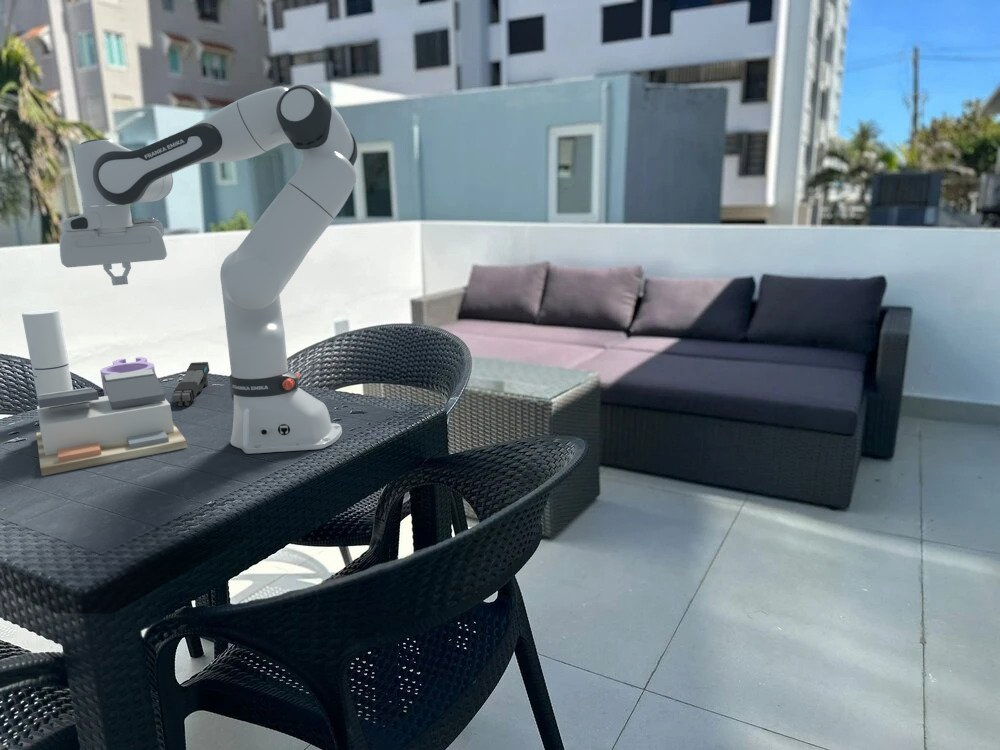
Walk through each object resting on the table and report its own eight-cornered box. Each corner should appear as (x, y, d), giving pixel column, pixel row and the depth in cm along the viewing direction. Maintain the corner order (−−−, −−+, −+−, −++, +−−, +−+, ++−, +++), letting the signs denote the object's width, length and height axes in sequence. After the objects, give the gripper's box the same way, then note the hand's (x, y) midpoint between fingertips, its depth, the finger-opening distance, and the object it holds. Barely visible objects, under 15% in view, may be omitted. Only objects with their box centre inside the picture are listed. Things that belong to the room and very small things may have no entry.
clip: (109, 384, 193) (105, 360, 192) (159, 379, 198) (155, 355, 196) (101, 403, 176) (97, 376, 174) (156, 397, 180) (152, 371, 179)
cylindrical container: (60, 424, 159) (41, 314, 153) (34, 422, 161) (13, 314, 155) (84, 414, 166) (67, 309, 160) (58, 413, 167) (40, 309, 161)
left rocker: (39, 403, 145) (37, 394, 145) (94, 395, 150) (93, 386, 150) (39, 408, 135) (37, 398, 135) (98, 399, 140) (97, 390, 140)
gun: (213, 383, 192) (206, 351, 186) (198, 428, 175) (190, 395, 170) (196, 383, 191) (188, 352, 185) (179, 429, 175) (170, 396, 169)
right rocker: (103, 382, 151) (102, 374, 150) (154, 375, 156) (153, 367, 156) (111, 409, 142) (110, 400, 142) (165, 400, 148) (164, 392, 147)
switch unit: (37, 439, 149) (30, 399, 147) (165, 417, 163) (160, 381, 161) (41, 475, 129) (33, 430, 127) (187, 447, 143) (181, 406, 140)
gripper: (158, 216, 158) (168, 278, 162) (52, 222, 147) (65, 288, 150) (164, 217, 153) (174, 280, 157) (55, 222, 142) (68, 291, 145)
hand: (120, 284), depth 153 cm, fingers closed
